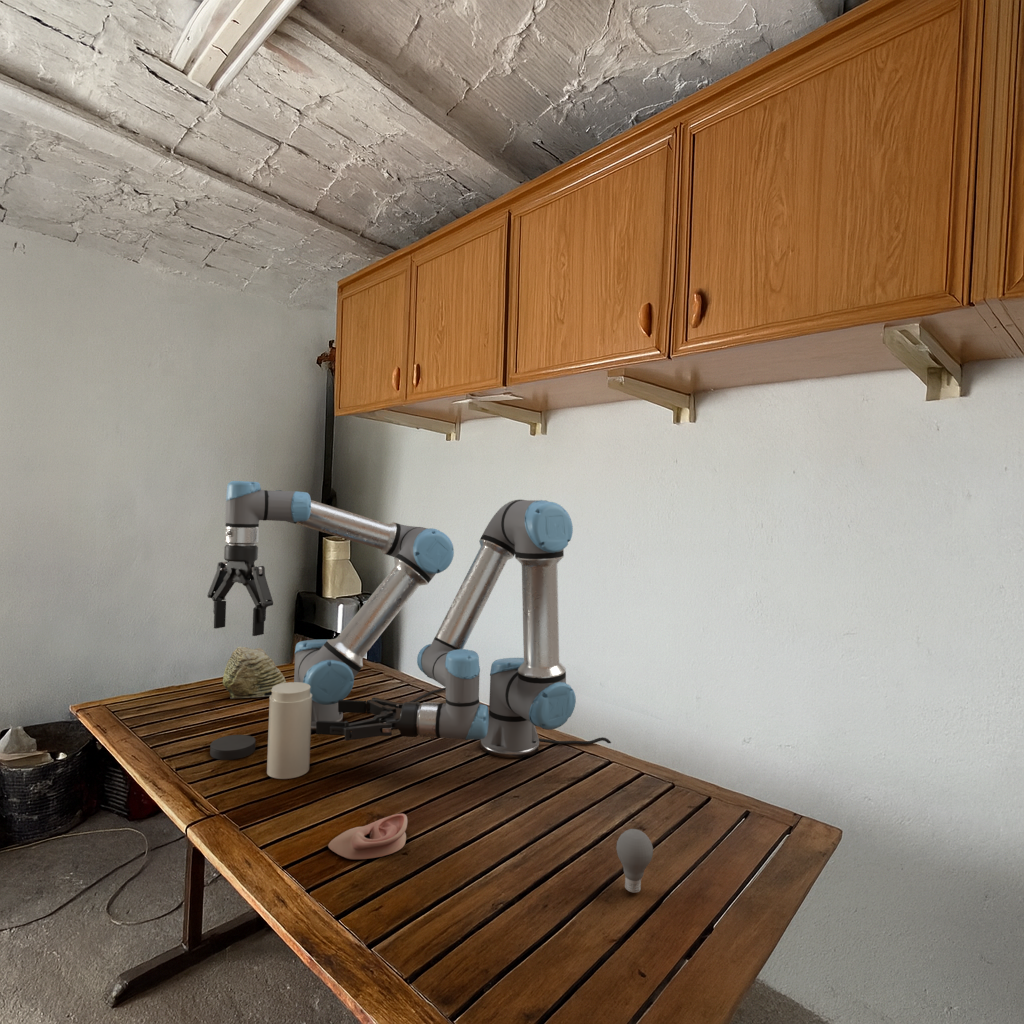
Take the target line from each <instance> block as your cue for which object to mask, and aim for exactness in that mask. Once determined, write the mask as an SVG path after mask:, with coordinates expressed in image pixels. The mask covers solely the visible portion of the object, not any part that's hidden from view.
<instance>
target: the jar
mask: <svg viewBox="0 0 1024 1024" xmlns="http://www.w3.org/2000/svg"><path fill="white" fill-rule="evenodd" d="M310 688H311V687H310V685H309V684H306V683H301V682H294V681H289V682H286V683H282V684H278V685H275V686H274V687H272V689H271V691H272V695H271V696H268V698H269V699H268V724H267V749H266V750H267V753H266V775H267V776H269V778H274V779H276V780H277V779H278V780H288V779H289V780H290V779H295V778H299V777H302V776H304V775H305V774H307V773H308V772H309V771H310V766H311V741H312V732H311V716H312V694H311V693H310Z"/></svg>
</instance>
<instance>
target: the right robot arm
mask: <svg viewBox="0 0 1024 1024" xmlns="http://www.w3.org/2000/svg"><path fill="white" fill-rule="evenodd" d="M573 532H574V526H573V522H572V518H571V516H570V514H569V512H568V511H567V510H566V509H565V508H564V507H563V506H562V505H561V504H559V503H557V502H553V501H548V500H543V499H538V500H537V499H536V500H535V499H534V500H532V499H530V500H529V499H528V500H527V499H514V500H510V501H509V502H507V503H505V504H504V505H502V506H501V507H500V508H499V509H498V510H497V511H496V512H495V513H494V514H493V516H492V518H491V519H490V521H489V522H488V524H487V525H486V527H485V529H484V530H483V533H482V535H481V537H480V539H479V540H478V541H479V545H480V547H479V549H478V551H477V554H476V555H475V558H474V559H473V560H472V563H471V566H470V567H469V569H468V571H467V573H466V575H465V577H464V579H463V580H462V583H461V585H460V587H459V589H458V591H457V593H456V595H455V597H454V598H453V601H452V602H451V605H450V607H449V608H448V611H447V613H446V614H445V617H444V619H443V620H442V622H441V624H440V626H439V628H438V630H437V632H436V634H435V636H434V638H433V640H432V642H431V643H429V644H426V645H425V646H423V647H422V648H421V649H420V650H419V651H418V654H417V656H416V664H417V667H418V669H419V670H420V671H421V672H422V673H423V674H424V675H425V676H426V678H429V679H431V680H434V681H435V682H437V683H438V684H439V685H441V686H443V688H445V687H446V690H445V703H444V702H431V701H430V702H429V701H427V702H425V701H423V702H419V701H418V702H417V701H416V702H409V701H405V702H396V701H391V700H387V699H383V698H379V697H375V696H374V697H371V699H367V700H357V699H356V700H355V699H353V700H352V699H343V700H339V701H338V712H343V713H351V714H353V713H354V714H366V715H370V714H372V715H374V716H373V717H372V718H368V719H363V720H358V721H354V722H349V721H348V720H344V721H343V722H338V721H317V722H316V732H315V734H316V735H328V736H344V741H354V740H361V739H368V738H376V737H391V736H393V730H398V731H399V734H400V736H402V737H403V738H417V737H420V738H428V739H429V738H430V740H431V741H432V740H435V739H451V740H464V741H468V740H469V741H471V740H472V741H474V740H480V748H481V750H482V751H483V752H485V753H486V754H488V755H490V756H494V757H498V758H503V759H522V758H527V757H531V756H533V755H535V754H537V753H538V752H539V750H540V743H548V744H554V745H586V746H587V745H592V744H596V743H600V742H606V744H612V741H611V740H609V738H607V737H598V738H594V739H592V740H554V739H548V738H539V734H538V732H537V728H541V729H543V730H547V731H551V730H556V729H558V728H560V727H562V726H563V725H565V723H567V722H568V720H569V718H571V716H572V715H573V713H574V710H575V708H576V704H577V701H576V700H577V697H576V696H577V695H576V692H575V690H574V689H573V688H572V686H571V685H570V684H568V683H567V670H566V667H565V665H563V664H562V663H561V662H560V624H559V622H560V621H559V617H560V616H559V577H558V576H559V573H558V569H559V568H558V566H559V565H558V564H559V562H561V561H562V560H563V558H564V557H565V555H564V552H565V550H564V549H566V548H567V547H568V545H569V542H571V541H572V537H573ZM512 559H516V560H517V562H519V564H520V565H521V583H522V584H521V593H522V596H521V597H522V600H521V601H522V637H523V638H522V639H523V640H522V641H523V642H522V643H523V644H522V645H523V657H505V658H504V657H503V658H499V659H495V660H494V661H493V662H492V663H491V665H490V674H489V702H488V703H489V704H488V705H487V704H482V703H480V675H481V674H480V672H481V666H480V656H479V653H477V651H475V650H471V649H467V648H466V649H465V647H466V644H467V642H468V640H469V638H470V636H471V634H472V632H473V630H474V628H475V626H476V624H477V622H478V620H479V618H480V616H481V614H482V612H483V610H484V608H485V606H486V604H487V602H488V601H489V599H490V596H491V595H492V592H493V590H494V589H495V588H494V587H495V586H496V584H497V582H498V580H499V578H500V576H501V574H502V572H503V570H504V568H505V566H506V564H507V562H508V561H509V560H512ZM366 709H367V711H366ZM536 727H537V728H536Z"/></svg>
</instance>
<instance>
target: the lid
mask: <svg viewBox="0 0 1024 1024" xmlns="http://www.w3.org/2000/svg"><path fill="white" fill-rule="evenodd" d="M256 741H257V740H256V738H255V737H254V736H251V735H247V734H231V735H230V734H229V735H225V736H221V737H217V738H216V739H214V740H212V741H211V743H210V747H209V755H210V757H211V758H212V759H216V760H220V761H233V760H239V759H242V758H246V757H248V756H250V755H252V754H254V753H255V751H256V744H257V743H256Z"/></svg>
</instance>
